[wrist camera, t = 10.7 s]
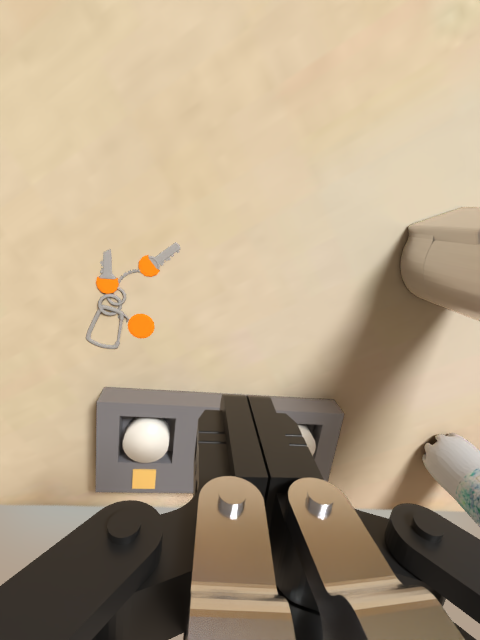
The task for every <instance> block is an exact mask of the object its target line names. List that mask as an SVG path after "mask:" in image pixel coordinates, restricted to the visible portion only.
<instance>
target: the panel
mask: <svg viewBox="0 0 480 640" xmlns="http://www.w3.org/2000/svg"><path fill="white" fill-rule="evenodd" d="M228 395H239V394H228ZM245 396H247V395H245ZM248 396H257V395H248ZM221 397H222V394H221V393H203V392H185V391H167V390H149V389H131V388H113V387H104V389H103V391H102V393H101V395H100V397H99V398H98V400H97V423H96V492H133V493H193V488H194V487H193V478H194V454H195V445H196V436H197V426H198V419H199V417H200V416H201V415H202V413H203V412H204V410H220V403H221ZM266 397H270V398H271V400H272V403H273V405H274V408H275V410H276V413H286V414H287V415H288V416H289V417H290V418H292V419H293V420H294V421H295V422H296V423H297V424H305V425H306V426H307V427H308V429H309V431H310V432H311V434H312V436H313V438H314V440H315V444H316V448H315V452H314V454H313V458H314V460H315V462H316V465H317V467H318V469H319V471H320V473H321V475H322V477H323V479H324V481H327V482H328V478H329V474H330V470H331V466H332V462H333V458H334V454H335V450H336V446H337V442H338V438H339V434H340V430H341V426H342V422H343V417H344V413H343V411H342V410H341V409H340V407H339V406H338V404H337V403H336V402H335V400H330V399H312V398H294V397H276V396H266ZM135 417H154V418H163V419H164V420H165V421H166V422H167V423H168V425H169V428H170V438H169V446H168V450H167V452H166V453H165V455H164V456H163V457H162V458H160V459H159V460H157V461H154V462H150V463H141V462H137V461H134V460H132V459H131V458H129V457H128V456H127V455H126V453H125V452H124V449H123V439H124V436H125V433H126V429H127V426H128V424H129V423H130V422H131V420H133V419H134V418H135Z"/></svg>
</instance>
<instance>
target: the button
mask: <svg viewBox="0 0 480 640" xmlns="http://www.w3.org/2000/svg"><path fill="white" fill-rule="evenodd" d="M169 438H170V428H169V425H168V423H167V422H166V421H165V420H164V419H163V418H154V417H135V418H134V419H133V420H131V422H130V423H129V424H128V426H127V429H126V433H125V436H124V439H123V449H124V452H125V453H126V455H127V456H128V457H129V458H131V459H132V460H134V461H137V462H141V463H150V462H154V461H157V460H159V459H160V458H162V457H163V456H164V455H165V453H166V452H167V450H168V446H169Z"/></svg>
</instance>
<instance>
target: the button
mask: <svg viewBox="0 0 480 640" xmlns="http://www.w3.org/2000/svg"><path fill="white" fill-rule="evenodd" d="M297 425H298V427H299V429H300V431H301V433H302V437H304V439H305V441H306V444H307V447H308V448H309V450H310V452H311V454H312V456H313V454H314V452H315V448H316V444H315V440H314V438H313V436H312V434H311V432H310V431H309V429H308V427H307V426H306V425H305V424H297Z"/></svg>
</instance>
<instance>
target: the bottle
mask: <svg viewBox="0 0 480 640" xmlns="http://www.w3.org/2000/svg"><path fill="white" fill-rule="evenodd" d="M435 438H436V440H437V442H436V443H435V444H433V445H431V444H430V443H426V444H425V446H424V448H425V451H426V454H424V455H423V456H422V460H423V463H424V465H425V467H426V469H427V470H428V472H429V473H430V474H431V476H432V477H433V478H434V479H435V480H436V481H437V482H438V483H439V484H440V485H441V486H442V487H443V488H444V489H445V490H446V491H447V492H448V493H449V494H450V495H451V496H452V497H453V498H454V499H455V500H456V501H457V502H458V503H459V504H460V506H461V507H462V508H463V509H464V510H465V511H466V512H467V513H468V514H469V516H470V517H471V518H472V519H473V520H474V521H475V522H476V523H477V524H478V526H479V527H480V451H479V450H478V449H477V448H476V447H475V446H474V445H473V444H471V443H470V442H469V441H467V440H466V439H464V438H463V437H461V436H459V435H457V434H453V433H450V434H448V435H447V436H445V435H442V434H438V435H436V436H435Z"/></svg>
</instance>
